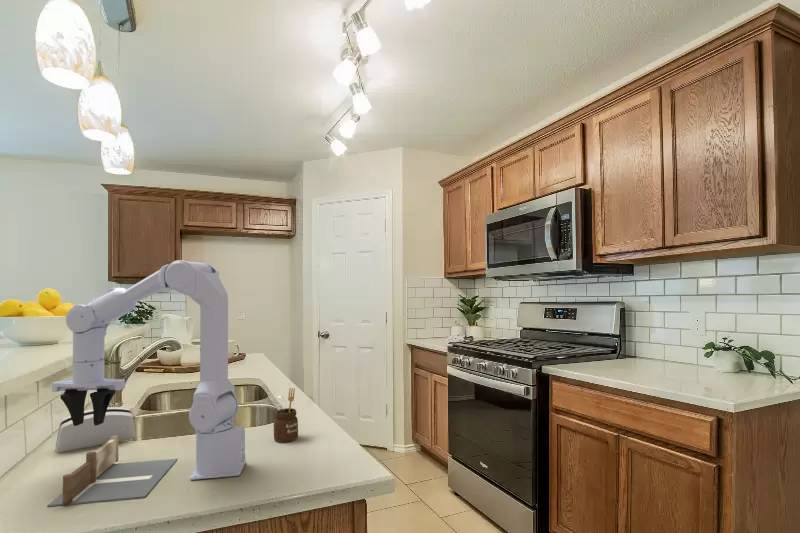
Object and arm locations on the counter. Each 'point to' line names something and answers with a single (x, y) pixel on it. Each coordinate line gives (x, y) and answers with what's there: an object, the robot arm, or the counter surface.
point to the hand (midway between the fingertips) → (88, 424)
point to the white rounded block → (95, 429)
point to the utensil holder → (286, 422)
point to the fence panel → (106, 455)
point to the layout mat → (122, 482)
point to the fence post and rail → (79, 479)
